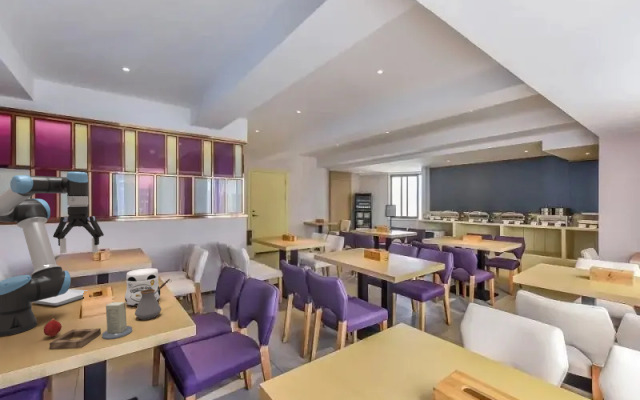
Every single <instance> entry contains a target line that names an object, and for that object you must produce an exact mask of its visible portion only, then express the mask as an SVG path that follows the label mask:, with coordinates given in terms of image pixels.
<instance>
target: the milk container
mask: <svg viewBox="0 0 640 400" xmlns="http://www.w3.org/2000/svg"><path fill="white" fill-rule="evenodd" d="M125 277H126V291H125V295H124V302H126V304H127V305H128V306H131V307H138V304H139V302H140V300H141V297H142V294H141V293H140V292H141V291H143V290H148V289H154V290H155V291H156V290H158V288H159V287H160V285H159V270H158V268H154V267H146V268H140V269H139V268H138V269H133V270H130V271H128V272H126V276H125ZM154 296H155V298H156V300H157V301H159V299H160V297H161V289H160V290H159V291H158V292H157V293H156V294H155V295H154ZM127 305H126V306H127Z"/></svg>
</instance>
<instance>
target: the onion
mask: <svg viewBox="0 0 640 400" xmlns="http://www.w3.org/2000/svg"><path fill="white" fill-rule="evenodd" d="M62 327H63V326H62V324H61V322H59V321H58V320H56V319H55V318H52V319H50V320H49V321H48V322H47V323H46V324H45V325H44V328H43V334H44V335H46V336H47V337H50V338H55V337H56V336H57V335H58V334H59V333H60V332H61V330H62Z"/></svg>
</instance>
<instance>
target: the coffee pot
mask: <svg viewBox="0 0 640 400" xmlns="http://www.w3.org/2000/svg"><path fill="white" fill-rule="evenodd" d="M169 282H170V283H172V280H171V279H170V278H169V279H167V280H165V282H163V283H162V284H161V285H159V288H158V290H156V291H155V290H154V289H148V290H143V291H141V292H140V293H141V294H142V297H141V300H140V302H139V304H138V306H136V309H135V312H134V315H135V317H136V318H137V319H139V320H141V321H142V320H151V319H154V318H156V317H157V316H158V315H159V314H160V312H161V311H162V308H161V305H160V304H159V302H158V300H156V298H155V296H154V295H155V294H156V293H157V292H158V291H159V290H160V291H161V290H162V288H164V286H166V284H168V283H169Z"/></svg>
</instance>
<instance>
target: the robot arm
mask: <svg viewBox="0 0 640 400" xmlns="http://www.w3.org/2000/svg"><path fill="white" fill-rule="evenodd" d="M9 185H10V187H8V188H7V189H6V190H5V191H4V192H2V193H0V222H1V223H16V226H17V228H18V227H19V228H21V229H22V231H23V234H24V235H23V236H24V239H25V242H26V246H27V249H28V250H27V251H28V253H29V257H30V261H31V264H32V268H33V272H32V273H31V274H30V275H29V274H22V275H15V276H11V277H9V278H5V279H3V280H0V337H6V336H5V335H7V336H12V335H17V334H20V333H23V332H26V331H29V330H31V329H33V328H35V327H36V326H38V319H37V317H36V316H35V314H34V311H33V310H32V304H33V302H35V301H39V300H43V299H47V298H51V297H56V296H59V295H62V294H65V293H66V292H67V291H68V289H70V286H71V280H72V279H71V278H72V277H71V273H69V271H68V270H63V268H62V266H61V265H58V264H57V262H56V257H55V255H54V251H53V248H52V244H51V242H50V237H49V235H48V231H47V227H46V223H47V222H48V220H49V218H50V217H51V208H50V205H49V204H48V202H47V201H46V200H44V199H42V198H32V196H34V195H35V194H63V195H64V194H66V198H67V199H66V203H67V204H66V205H67V206H68V207H67V215H68V217H67V216H60V220H59V223H58V225H57V227H56V229H55V231H54V233H53V235H52V236H53V238H54V239H55V238H56V239H57V244H58V245H57V246H59V253H60V254H65V253H67V237H66V236H67V235H68V233H69V232H71V230H72V229H73V228H75V227H79V228H81V227H82V228H84V230H86V231H87V232H88V233H89V235H91V237H92V238H91V253H98V245H100V238H101V237H104V235H105V234H104V232H103V231H102V228H101V227H100V224H99V223H98V222H97V216H96V215H93V216H89V212H90V210H89V206H88V205H89V178H88V173H87V172H86V171H85V172H84V171H68V172H67V173H66V176H48V175H47V176H44V175H27V174H26V175H25V174H23V175H14V176H12V177H11V179H10V182H9ZM67 222H68V223H67ZM65 237H66V238H65Z"/></svg>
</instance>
